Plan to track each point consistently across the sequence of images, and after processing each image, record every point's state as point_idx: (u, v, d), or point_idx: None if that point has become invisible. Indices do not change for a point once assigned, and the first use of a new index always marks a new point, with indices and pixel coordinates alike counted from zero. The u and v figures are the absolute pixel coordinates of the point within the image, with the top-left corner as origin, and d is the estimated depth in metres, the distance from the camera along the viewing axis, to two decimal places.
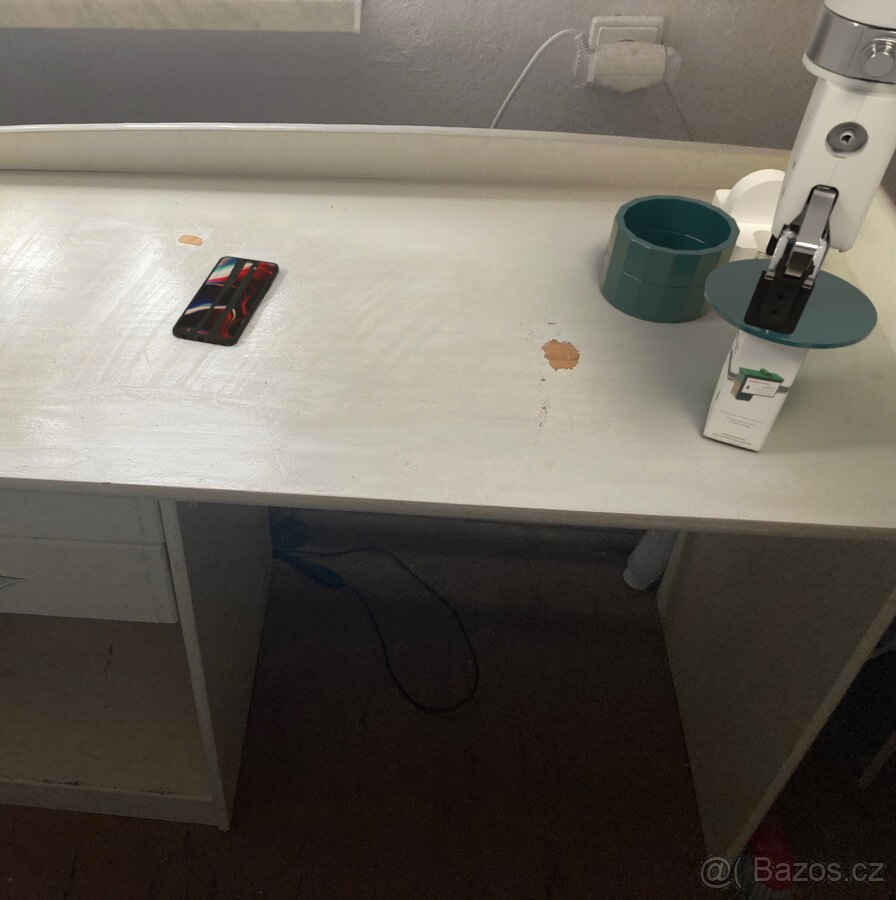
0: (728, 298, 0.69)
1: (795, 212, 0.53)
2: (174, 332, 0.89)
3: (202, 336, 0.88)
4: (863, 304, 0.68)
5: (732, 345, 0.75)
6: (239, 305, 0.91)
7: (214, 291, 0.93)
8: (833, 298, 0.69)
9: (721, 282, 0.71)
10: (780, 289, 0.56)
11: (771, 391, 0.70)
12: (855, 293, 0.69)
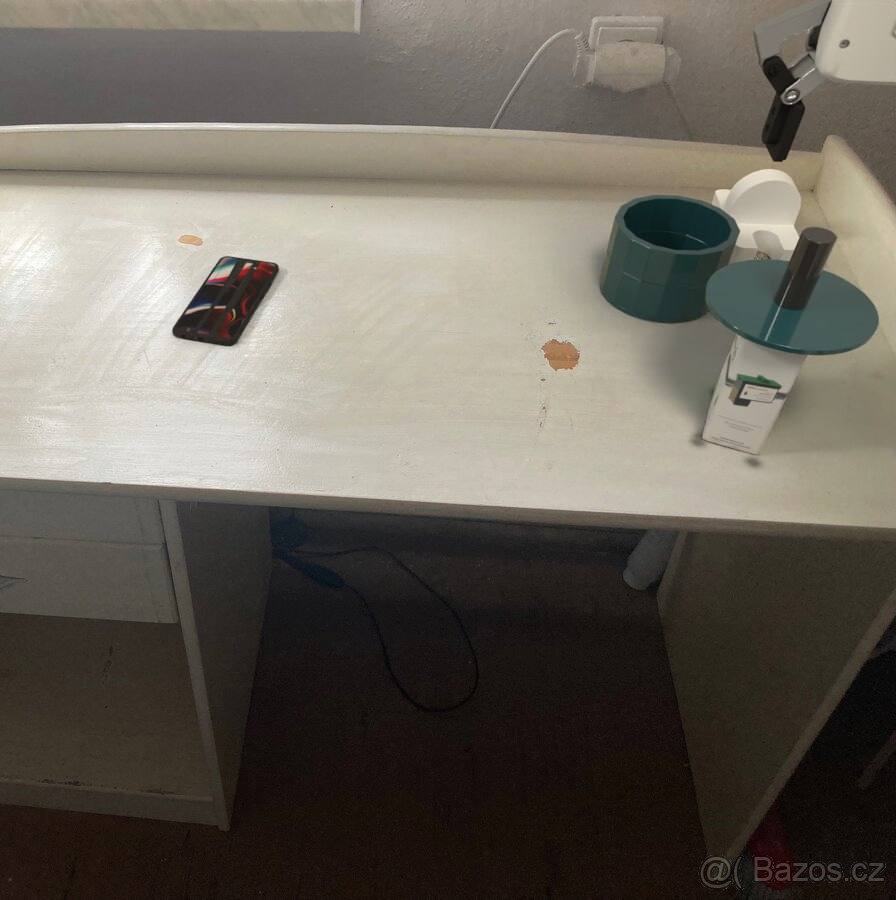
0: (728, 302, 0.69)
1: None
2: (174, 332, 0.89)
3: (202, 336, 0.88)
4: (864, 307, 0.68)
5: (731, 348, 0.75)
6: (239, 305, 0.91)
7: (214, 291, 0.93)
8: (835, 301, 0.69)
9: (722, 286, 0.71)
10: (776, 100, 0.59)
11: (769, 397, 0.70)
12: (857, 295, 0.69)
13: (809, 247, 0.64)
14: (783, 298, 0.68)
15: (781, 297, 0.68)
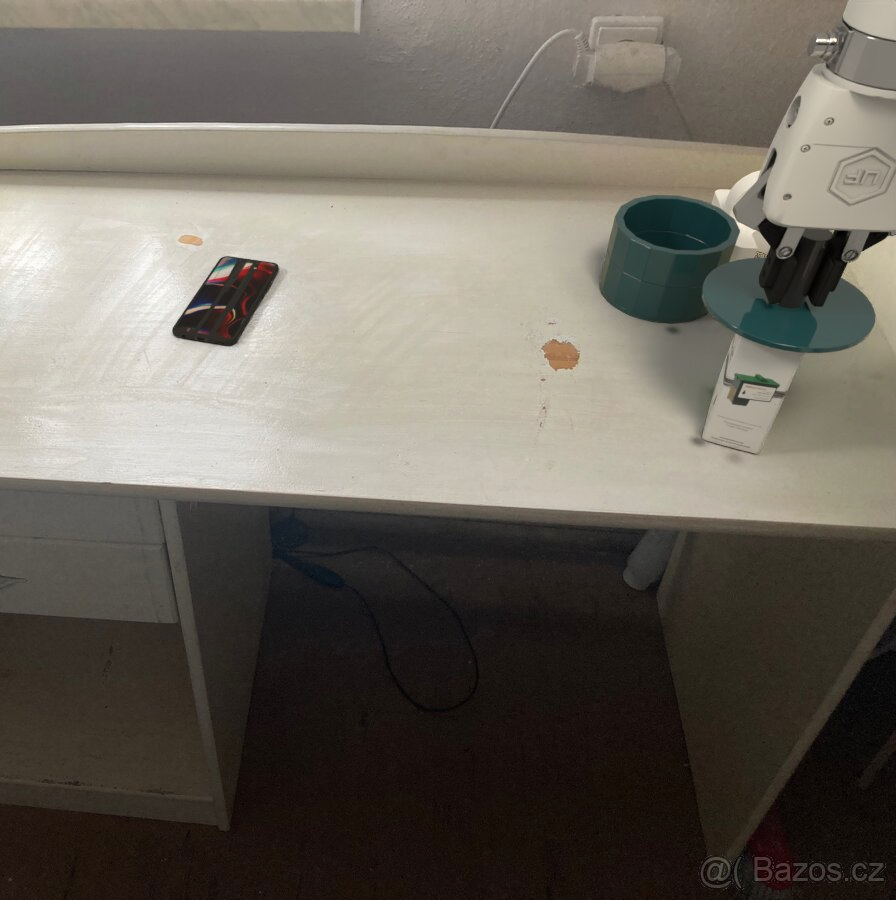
0: (725, 301, 0.69)
1: None
2: (174, 332, 0.89)
3: (202, 336, 0.88)
4: (861, 305, 0.68)
5: (729, 348, 0.75)
6: (239, 305, 0.91)
7: (214, 291, 0.93)
8: (831, 299, 0.69)
9: (719, 284, 0.71)
10: (771, 252, 0.66)
11: (767, 396, 0.70)
12: (854, 293, 0.69)
13: (806, 245, 0.64)
14: None
15: None
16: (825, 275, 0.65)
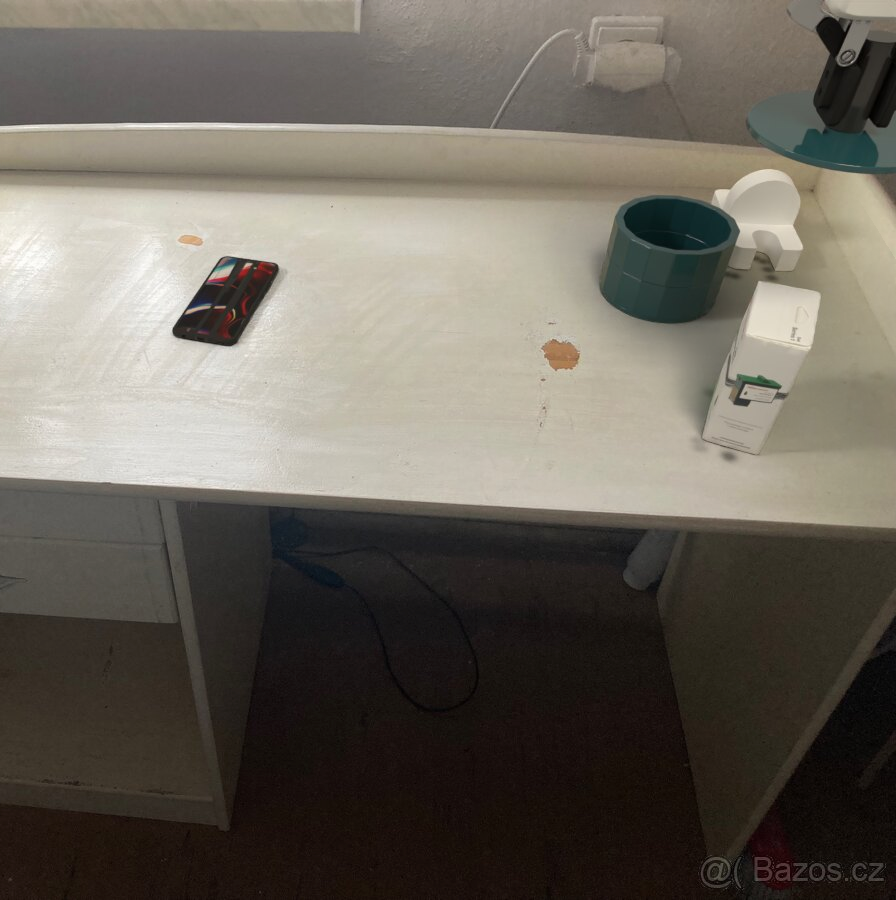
0: (774, 128, 0.61)
1: None
2: (174, 332, 0.89)
3: (202, 336, 0.88)
4: None
5: (731, 348, 0.75)
6: (239, 305, 0.91)
7: (214, 291, 0.93)
8: (895, 124, 0.60)
9: (766, 114, 0.62)
10: (829, 63, 0.58)
11: (769, 397, 0.70)
12: None
13: (871, 50, 0.56)
14: None
15: None
16: (892, 86, 0.57)
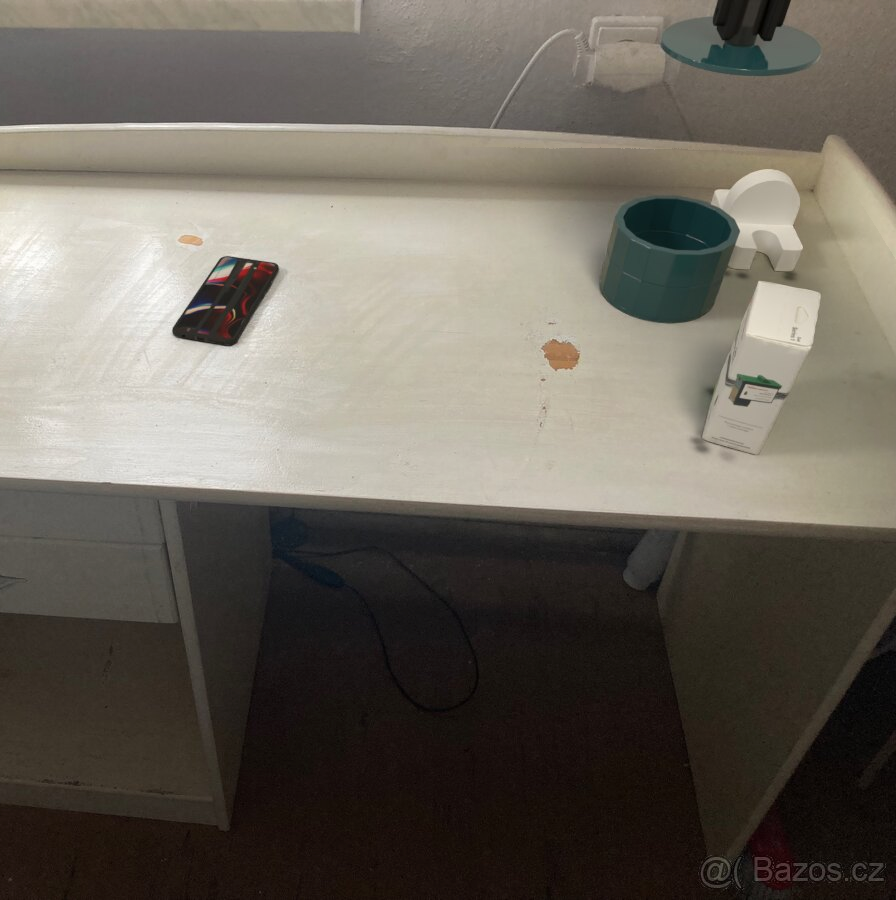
0: (681, 43, 0.73)
1: None
2: (174, 332, 0.89)
3: (202, 336, 0.88)
4: (809, 43, 0.72)
5: (731, 348, 0.75)
6: (239, 305, 0.91)
7: (214, 291, 0.93)
8: (781, 40, 0.73)
9: (677, 33, 0.75)
10: None
11: (769, 397, 0.70)
12: (803, 36, 0.73)
13: None
14: None
15: None
16: (773, 4, 0.69)
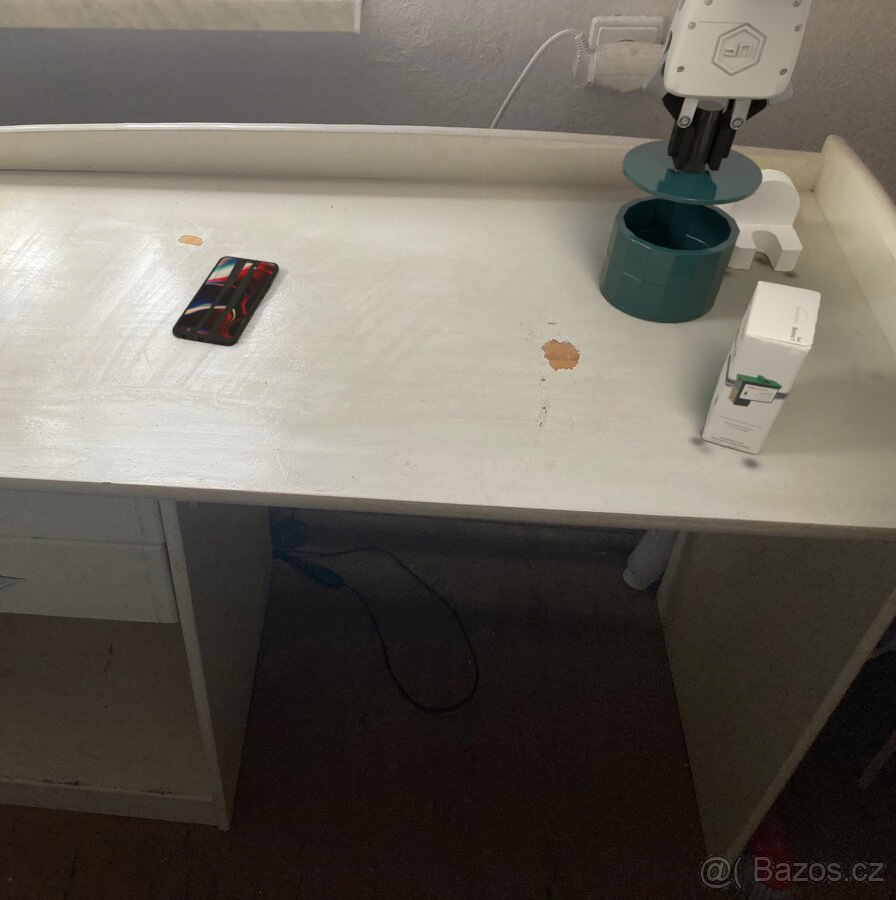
0: (640, 169, 0.83)
1: None
2: (174, 332, 0.89)
3: (202, 336, 0.88)
4: (752, 171, 0.82)
5: (731, 348, 0.75)
6: (239, 305, 0.91)
7: (214, 291, 0.93)
8: (728, 167, 0.82)
9: (637, 158, 0.84)
10: (675, 124, 0.80)
11: (769, 397, 0.70)
12: (748, 163, 0.83)
13: (702, 115, 0.78)
14: (685, 163, 0.81)
15: None
16: (718, 142, 0.79)
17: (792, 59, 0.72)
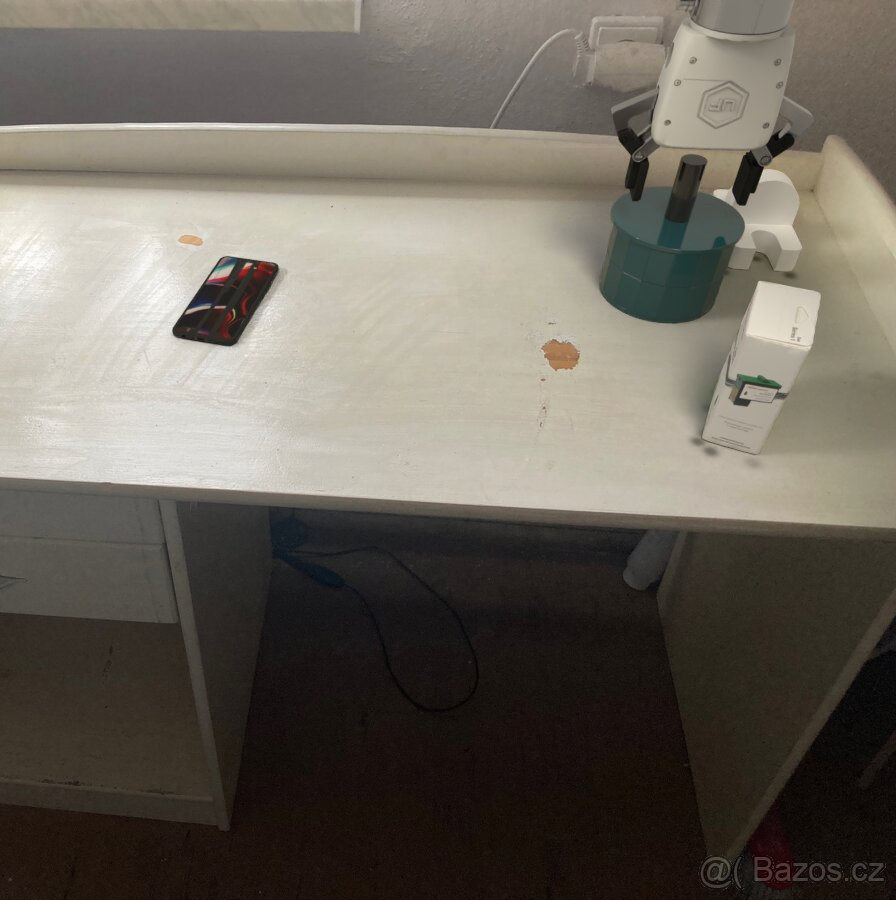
0: (628, 217, 0.86)
1: None
2: (174, 332, 0.89)
3: (202, 336, 0.88)
4: (735, 220, 0.85)
5: (731, 348, 0.75)
6: (239, 305, 0.91)
7: (214, 291, 0.93)
8: (712, 216, 0.86)
9: (625, 206, 0.88)
10: (631, 158, 0.82)
11: (769, 397, 0.70)
12: (731, 211, 0.86)
13: (686, 169, 0.82)
14: (670, 213, 0.85)
15: (669, 212, 0.85)
16: (746, 178, 0.80)
17: (774, 114, 0.75)
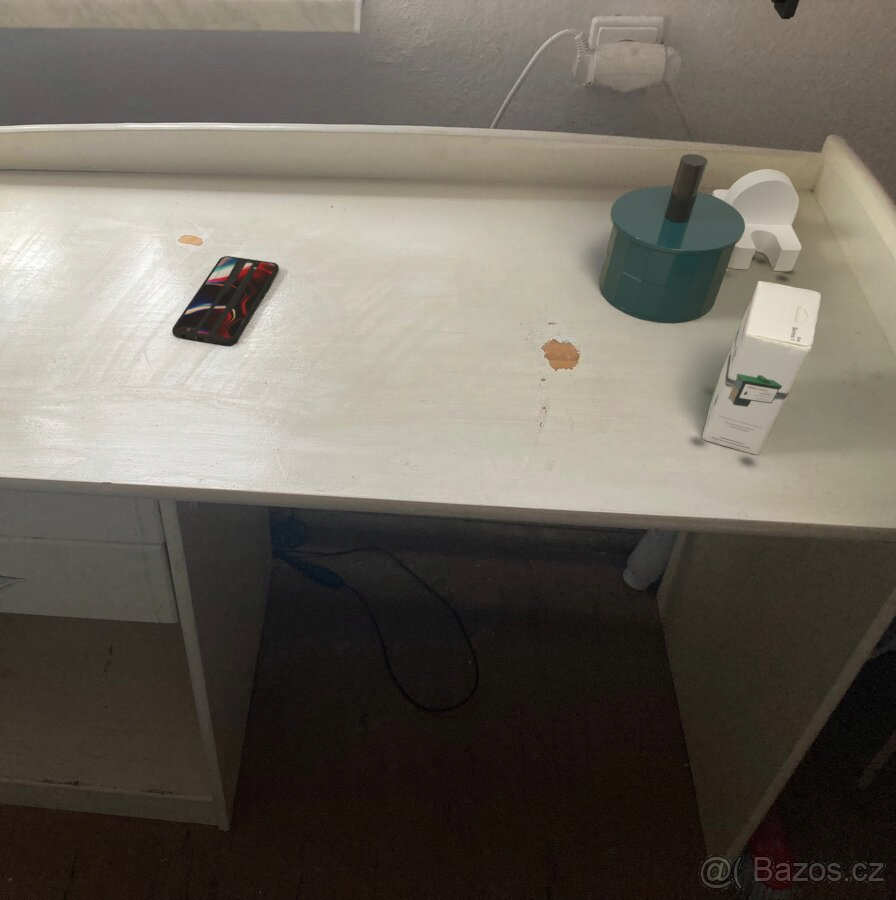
0: (628, 217, 0.86)
1: None
2: (174, 332, 0.89)
3: (202, 336, 0.88)
4: (735, 220, 0.85)
5: (731, 348, 0.75)
6: (239, 305, 0.91)
7: (214, 291, 0.93)
8: (712, 216, 0.86)
9: (625, 206, 0.88)
10: None
11: (769, 397, 0.70)
12: (731, 211, 0.86)
13: (686, 169, 0.82)
14: (670, 213, 0.85)
15: (669, 212, 0.85)
16: None
17: None
